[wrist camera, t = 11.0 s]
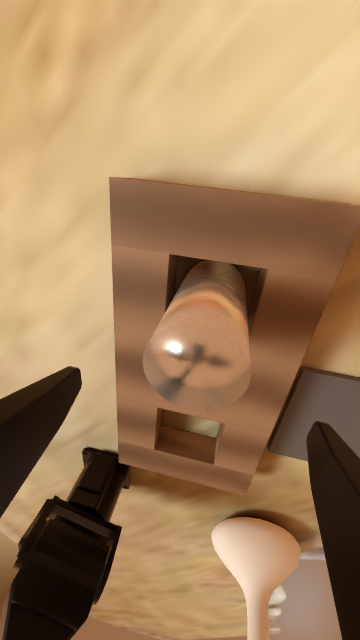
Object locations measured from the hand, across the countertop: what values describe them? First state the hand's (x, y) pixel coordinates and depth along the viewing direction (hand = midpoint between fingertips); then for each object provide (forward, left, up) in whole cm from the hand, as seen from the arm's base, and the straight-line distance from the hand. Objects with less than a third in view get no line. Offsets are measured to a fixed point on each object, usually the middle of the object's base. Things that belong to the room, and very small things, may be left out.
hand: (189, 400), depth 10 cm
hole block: (-7, 0, -12) cm, 14 cm away
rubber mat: (-11, -14, -12) cm, 21 cm away
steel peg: (0, 0, -12) cm, 12 cm away
